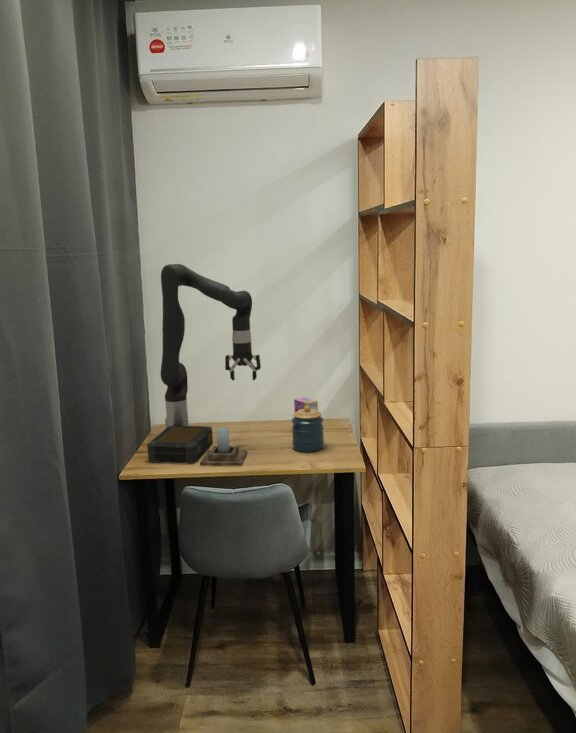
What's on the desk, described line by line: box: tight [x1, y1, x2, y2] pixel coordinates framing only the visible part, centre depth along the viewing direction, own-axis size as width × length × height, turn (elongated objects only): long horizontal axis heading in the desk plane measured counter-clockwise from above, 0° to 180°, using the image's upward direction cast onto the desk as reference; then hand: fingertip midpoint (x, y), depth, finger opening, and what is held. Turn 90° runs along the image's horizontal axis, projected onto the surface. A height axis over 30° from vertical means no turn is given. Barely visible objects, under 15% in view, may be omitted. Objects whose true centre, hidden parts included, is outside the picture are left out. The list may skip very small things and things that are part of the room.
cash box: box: [146, 425, 214, 464], centre depth 248 cm, size 25×20×8 cm
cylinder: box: [216, 427, 231, 453], centre depth 237 cm, size 5×5×11 cm
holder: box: [199, 445, 248, 467], centre depth 238 cm, size 16×14×4 cm
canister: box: [291, 406, 325, 453], centre depth 247 cm, size 13×13×18 cm
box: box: [293, 396, 319, 413], centre depth 278 cm, size 10×6×12 cm, turn 37°
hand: (243, 380), depth 249 cm, fingers open, 8 cm apart
